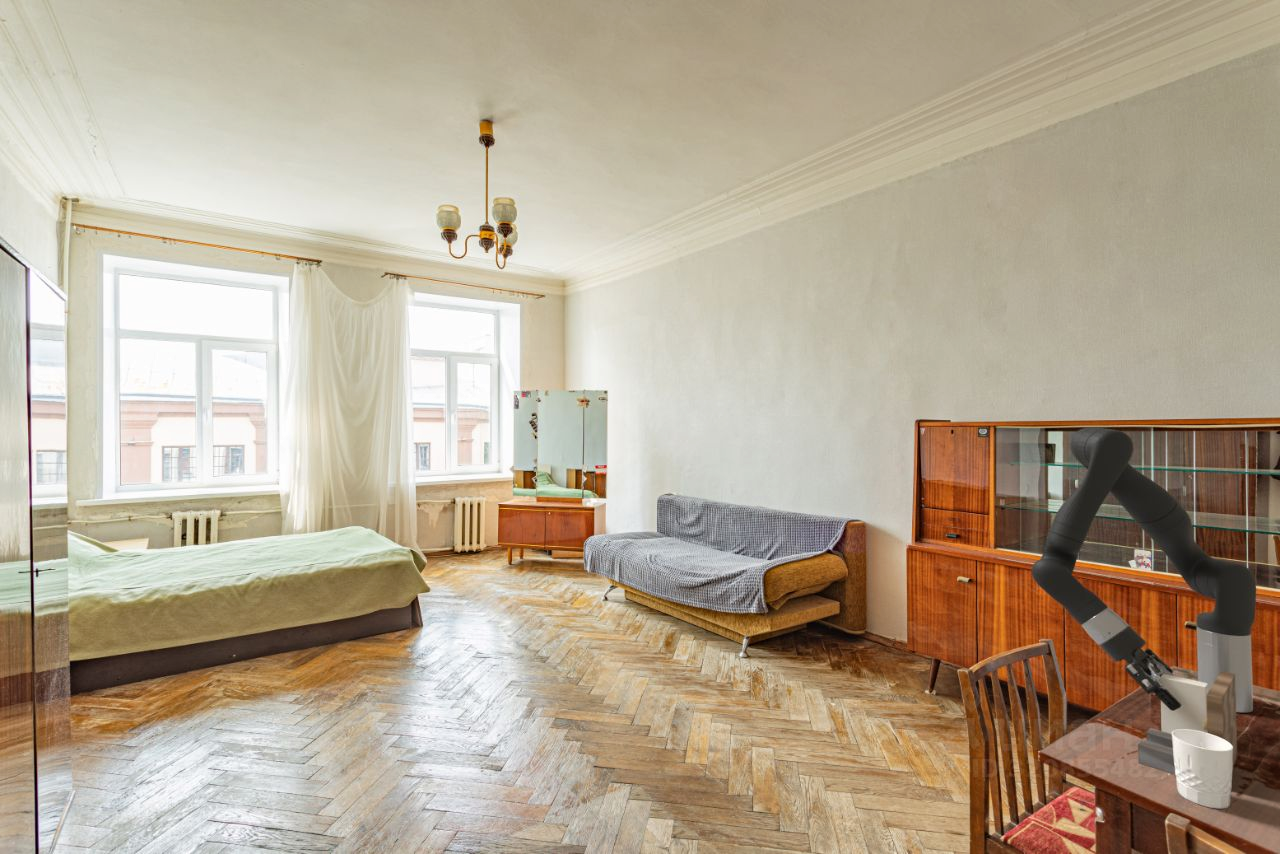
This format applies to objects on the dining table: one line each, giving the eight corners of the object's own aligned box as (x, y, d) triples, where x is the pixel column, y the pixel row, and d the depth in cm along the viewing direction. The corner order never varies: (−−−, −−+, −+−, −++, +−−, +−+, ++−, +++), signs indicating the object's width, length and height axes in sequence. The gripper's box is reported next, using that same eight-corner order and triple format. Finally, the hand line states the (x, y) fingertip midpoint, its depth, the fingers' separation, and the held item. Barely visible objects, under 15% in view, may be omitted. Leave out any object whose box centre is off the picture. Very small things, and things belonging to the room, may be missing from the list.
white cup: (1163, 791, 109) (1161, 734, 109) (1188, 781, 112) (1186, 725, 112) (1219, 816, 102) (1217, 754, 102) (1244, 804, 105) (1243, 745, 105)
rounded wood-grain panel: (1158, 734, 129) (1156, 657, 130) (1237, 756, 120) (1235, 674, 120) (1138, 762, 118) (1136, 678, 119) (1224, 789, 109) (1221, 698, 109)
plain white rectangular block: (1164, 730, 131) (1163, 673, 131) (1209, 742, 126) (1207, 683, 126) (1161, 734, 129) (1160, 677, 129) (1206, 747, 124) (1205, 687, 124)
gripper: (1118, 631, 130) (1191, 703, 121) (1135, 618, 140) (1204, 684, 131) (1088, 650, 134) (1157, 721, 125) (1107, 636, 143) (1172, 701, 134)
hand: (1181, 702), depth 128 cm, fingers open, 8 cm apart
